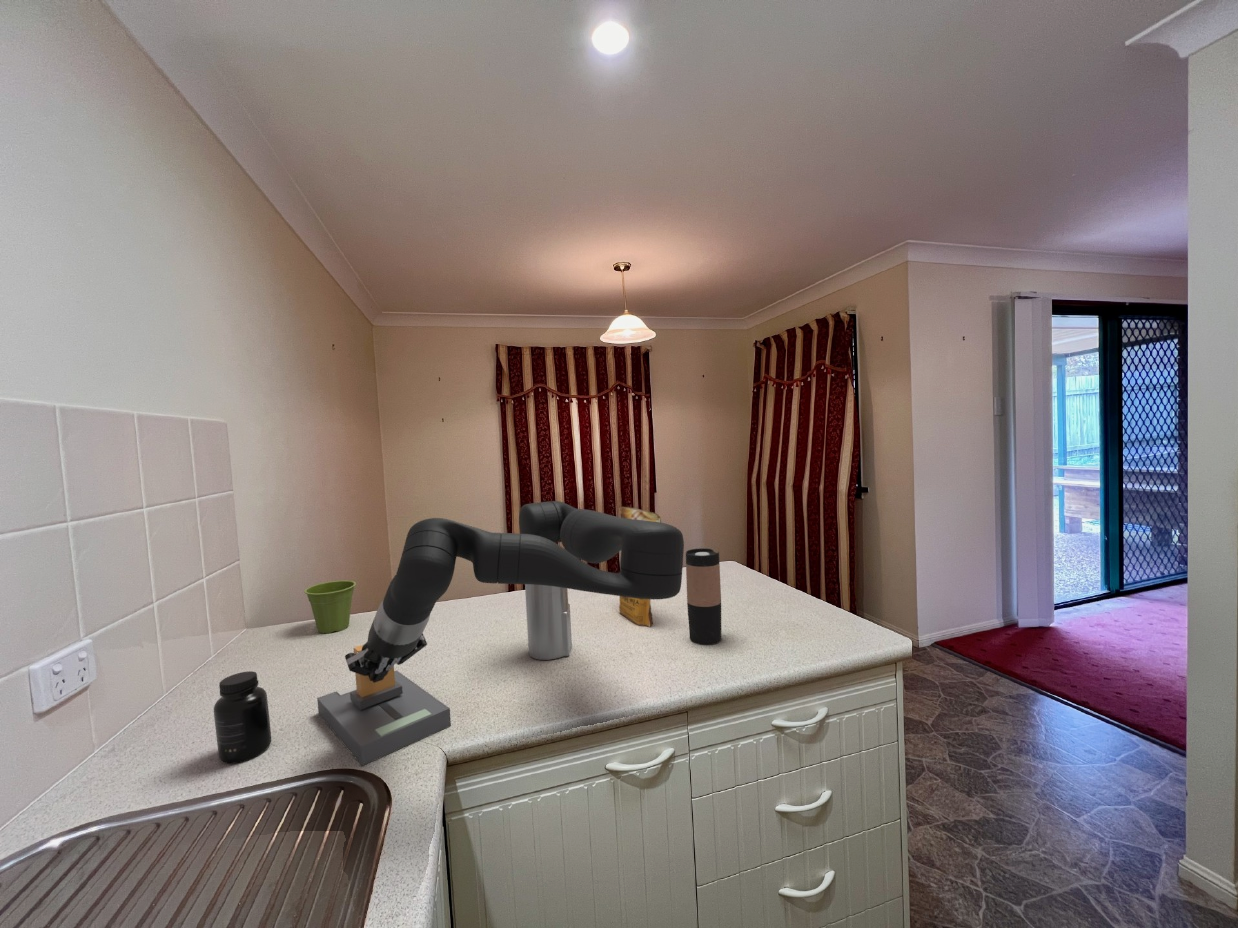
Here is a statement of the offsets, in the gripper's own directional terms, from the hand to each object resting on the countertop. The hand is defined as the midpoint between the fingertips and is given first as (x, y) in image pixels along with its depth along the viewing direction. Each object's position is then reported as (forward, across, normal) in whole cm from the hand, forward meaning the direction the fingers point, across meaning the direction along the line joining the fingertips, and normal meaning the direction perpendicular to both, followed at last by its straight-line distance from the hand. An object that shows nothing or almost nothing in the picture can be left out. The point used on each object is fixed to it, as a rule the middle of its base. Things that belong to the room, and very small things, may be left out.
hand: (376, 676), depth 89 cm
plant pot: (+46, +10, +35) cm, 58 cm away
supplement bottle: (+11, -18, 0) cm, 21 cm away
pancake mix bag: (+5, +65, -6) cm, 65 cm away
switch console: (+5, 0, -6) cm, 8 cm away
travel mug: (-10, +64, -22) cm, 68 cm away
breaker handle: (+4, 0, -2) cm, 5 cm away
